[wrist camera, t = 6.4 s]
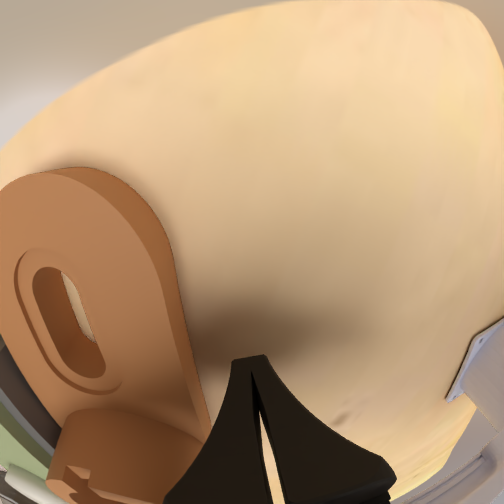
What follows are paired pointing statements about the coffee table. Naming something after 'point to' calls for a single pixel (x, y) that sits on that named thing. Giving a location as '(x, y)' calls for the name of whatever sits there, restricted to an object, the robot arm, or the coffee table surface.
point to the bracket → (100, 335)
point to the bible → (11, 493)
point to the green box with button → (25, 433)
